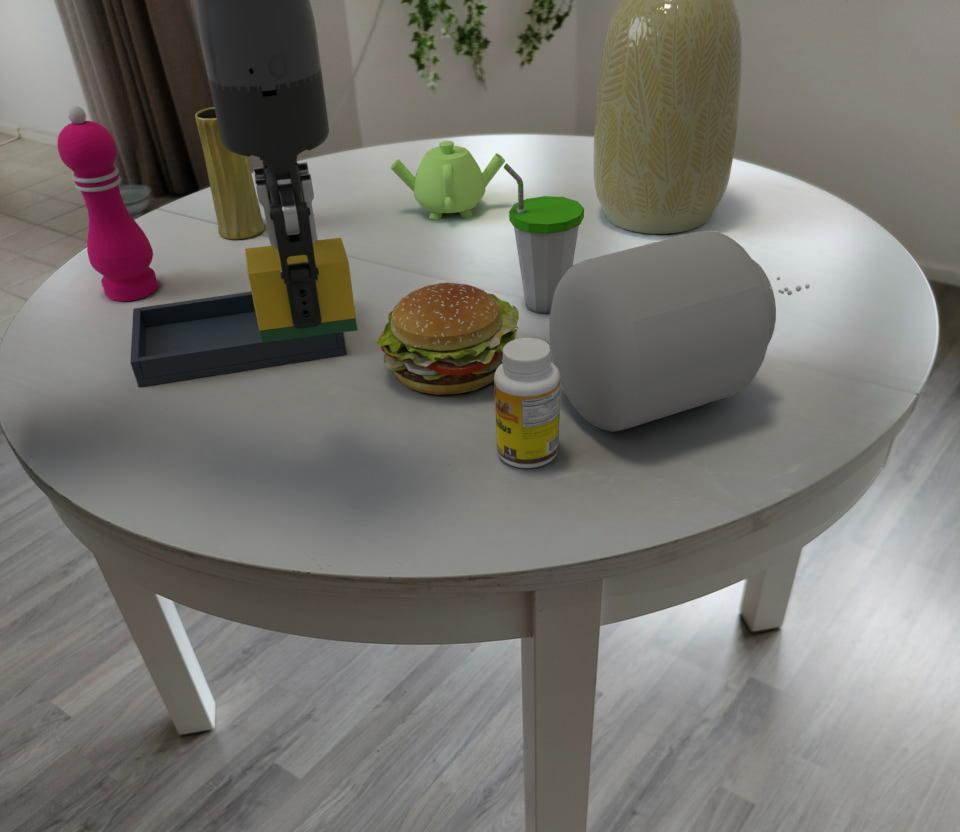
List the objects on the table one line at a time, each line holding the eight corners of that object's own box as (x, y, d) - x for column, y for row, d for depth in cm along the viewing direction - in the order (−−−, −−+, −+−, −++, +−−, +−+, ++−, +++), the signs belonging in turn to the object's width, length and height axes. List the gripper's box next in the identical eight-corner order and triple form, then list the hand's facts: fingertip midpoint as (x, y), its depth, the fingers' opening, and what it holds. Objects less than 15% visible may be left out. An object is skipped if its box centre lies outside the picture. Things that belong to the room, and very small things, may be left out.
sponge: (261, 343, 73) (247, 273, 69) (258, 316, 76) (244, 248, 72) (357, 330, 74) (348, 261, 70) (349, 304, 77) (341, 237, 73)
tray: (138, 387, 96) (130, 362, 94) (140, 332, 105) (133, 308, 103) (346, 354, 99) (343, 329, 97) (332, 303, 108) (328, 279, 106)
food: (482, 417, 89) (478, 339, 83) (360, 386, 94) (348, 310, 88) (546, 352, 97) (546, 277, 92) (430, 327, 102) (424, 254, 97)
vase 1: (210, 238, 123) (181, 118, 113) (232, 220, 127) (206, 103, 117) (252, 241, 122) (226, 121, 112) (273, 223, 126) (250, 105, 116)
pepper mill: (104, 281, 115) (43, 99, 101) (164, 274, 116) (112, 93, 102) (98, 307, 110) (33, 120, 96) (161, 299, 111) (105, 112, 96)
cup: (593, 297, 106) (599, 155, 95) (558, 326, 101) (560, 180, 91) (534, 283, 109) (533, 144, 98) (498, 311, 104) (493, 168, 94)
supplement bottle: (491, 441, 86) (486, 337, 79) (550, 432, 86) (550, 328, 79) (504, 475, 82) (500, 369, 75) (565, 466, 83) (568, 359, 75)
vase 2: (617, 184, 130) (630, -54, 111) (740, 199, 124) (776, -50, 105) (571, 230, 119) (576, -25, 100) (703, 249, 114) (735, -19, 95)
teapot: (450, 233, 121) (445, 163, 115) (390, 213, 126) (383, 145, 121) (509, 207, 126) (507, 139, 120) (449, 188, 132) (444, 123, 126)
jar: (522, 314, 93) (754, 239, 95) (568, 457, 94) (796, 380, 96) (555, 247, 74) (843, 154, 76) (613, 426, 76) (895, 331, 77)
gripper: (204, 44, 67) (252, 278, 79) (208, 100, 57) (262, 359, 69) (310, 35, 68) (341, 268, 80) (331, 89, 58) (363, 345, 70)
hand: (304, 309), depth 74 cm, fingers closed on sponge, 4 cm apart
